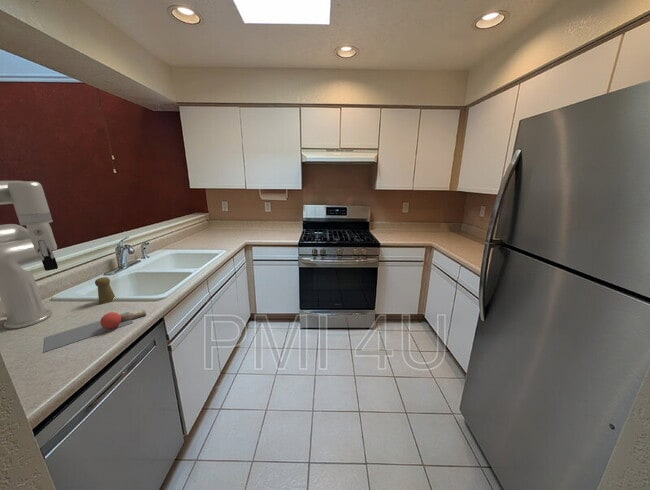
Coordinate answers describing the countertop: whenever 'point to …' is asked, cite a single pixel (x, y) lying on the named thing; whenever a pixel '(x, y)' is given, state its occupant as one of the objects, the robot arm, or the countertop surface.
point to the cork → (104, 290)
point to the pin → (133, 315)
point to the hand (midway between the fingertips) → (51, 269)
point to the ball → (110, 320)
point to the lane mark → (78, 334)
